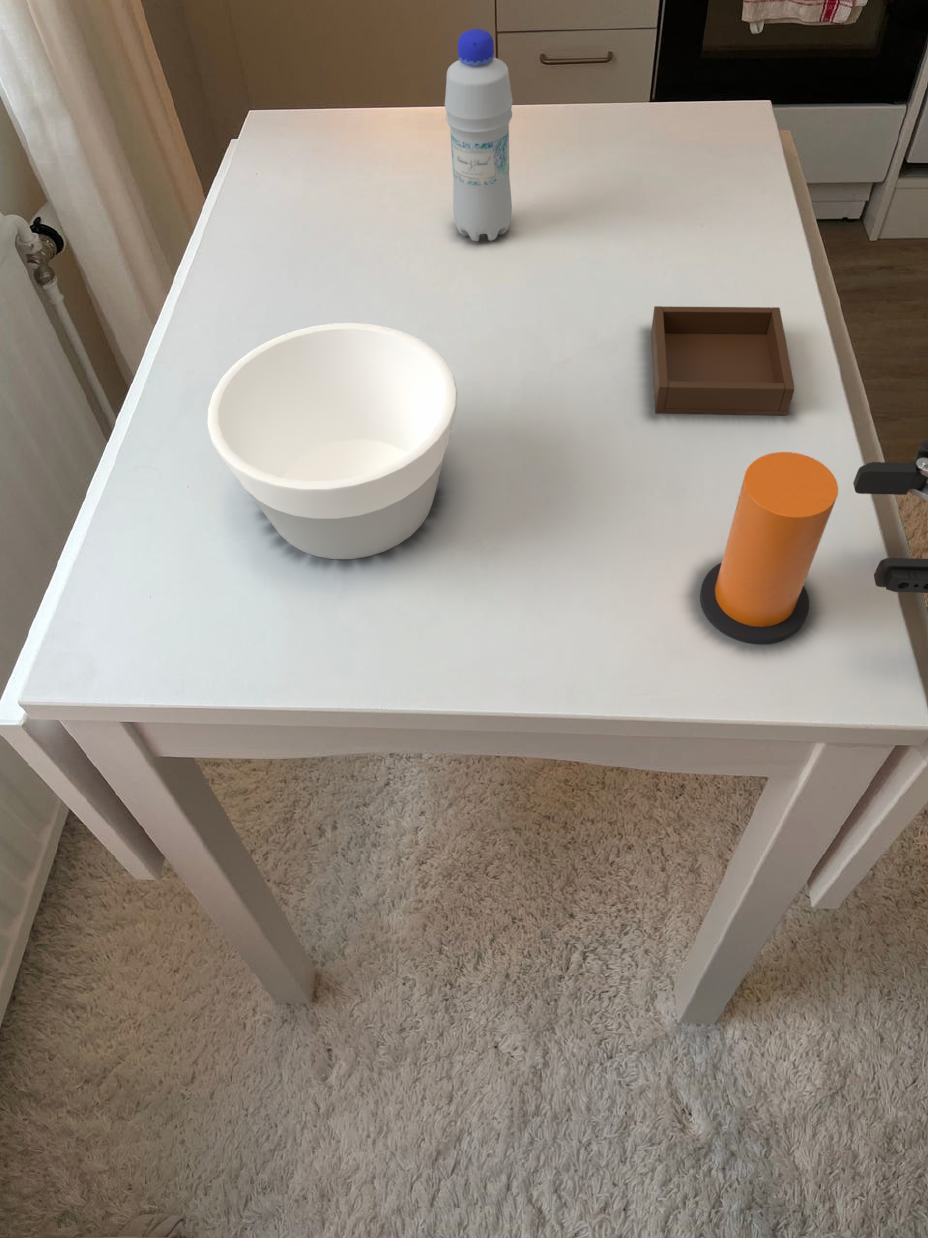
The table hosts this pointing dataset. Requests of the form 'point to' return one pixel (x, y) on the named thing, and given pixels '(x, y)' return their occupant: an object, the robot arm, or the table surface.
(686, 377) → the tray
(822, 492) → the orange cylinder
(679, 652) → the table surface
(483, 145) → the bottle
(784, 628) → the coaster
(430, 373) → the bowl
